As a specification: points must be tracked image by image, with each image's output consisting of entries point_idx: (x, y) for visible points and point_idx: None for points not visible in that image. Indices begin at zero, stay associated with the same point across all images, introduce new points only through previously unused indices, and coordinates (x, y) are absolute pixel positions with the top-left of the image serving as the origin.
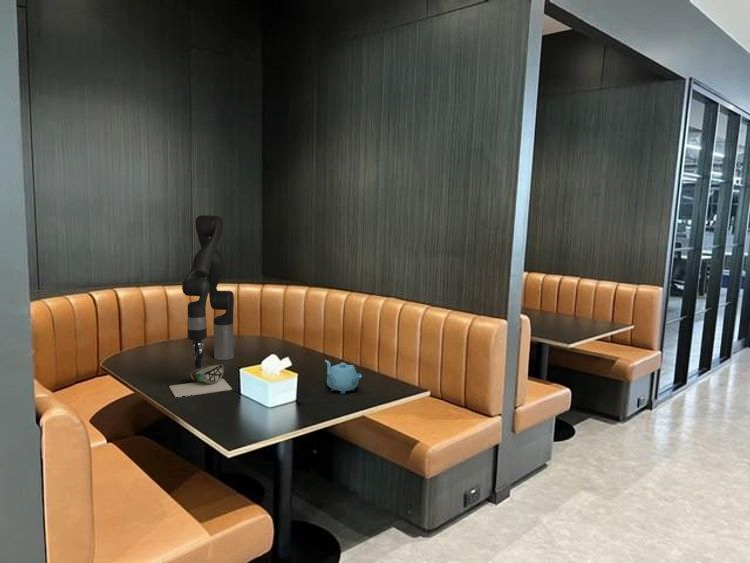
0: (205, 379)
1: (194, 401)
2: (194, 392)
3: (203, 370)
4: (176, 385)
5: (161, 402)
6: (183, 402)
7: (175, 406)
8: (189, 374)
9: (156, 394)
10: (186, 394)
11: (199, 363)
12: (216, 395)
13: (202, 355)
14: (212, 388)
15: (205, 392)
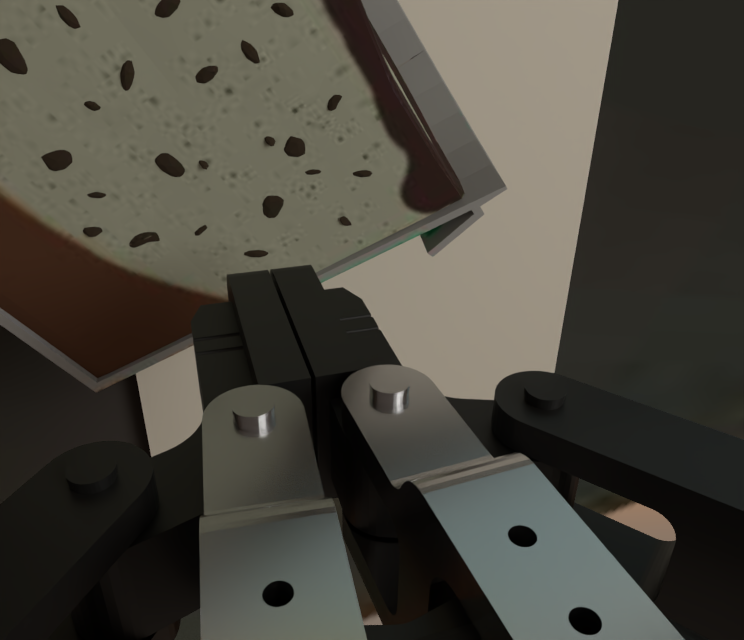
0: (437, 135)
1: (724, 278)
2: (528, 267)
3: (151, 153)
4: (171, 447)
5: None
6: (682, 368)
7: (721, 424)
8: (111, 372)
9: (353, 578)
10: (540, 348)
11: (383, 353)
12: (722, 16)
13: (735, 455)
14: (507, 18)
15: (590, 141)
